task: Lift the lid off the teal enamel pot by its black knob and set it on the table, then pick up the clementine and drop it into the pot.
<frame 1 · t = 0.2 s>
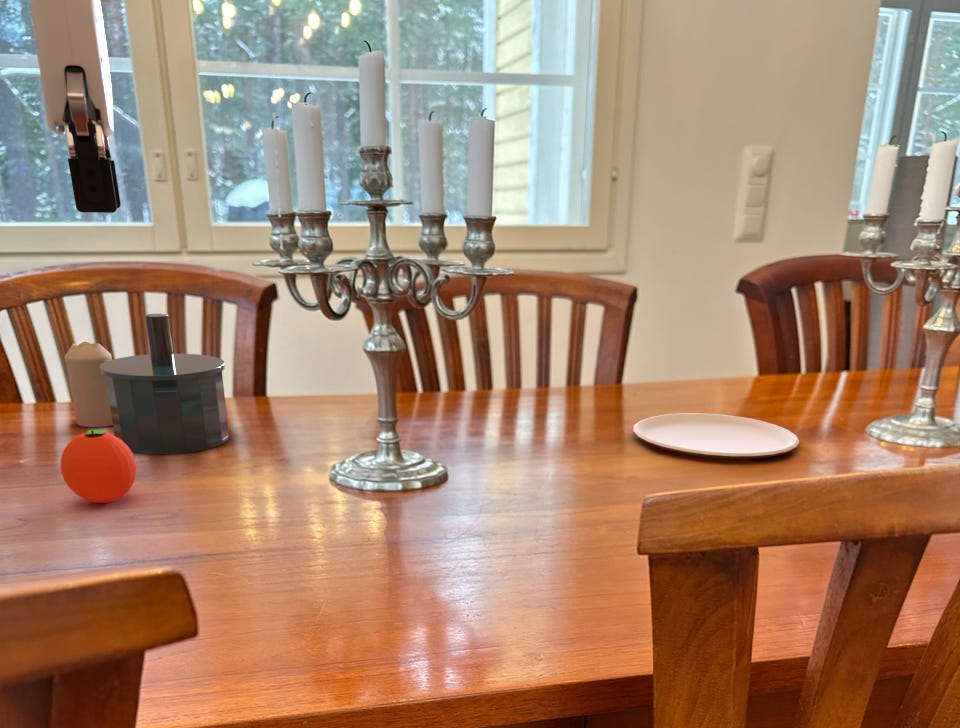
hand: (100, 210, 80), 26 cm above the table, tool pointing down, fingers open, 9 cm apart
clementine: (106, 501, 90), on the table
candle: (99, 424, 117), on the table
plate: (713, 442, 115), on the table
pot: (173, 439, 110), on the table
lid: (163, 369, 106), point 8 cm above the table, touching pot
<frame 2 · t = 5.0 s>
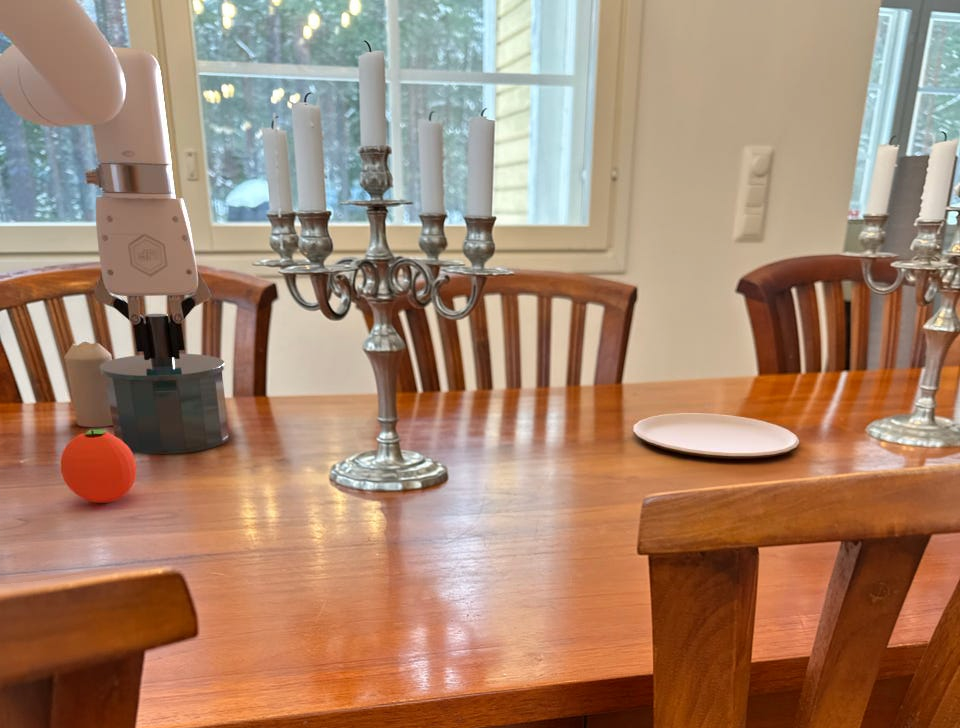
hand: (162, 356, 106), 10 cm above the table, tool pointing down, fingers closed on lid, 2 cm apart
lid: (163, 369, 106), point 9 cm above the table, touching gripper, pot
everything else where it was.
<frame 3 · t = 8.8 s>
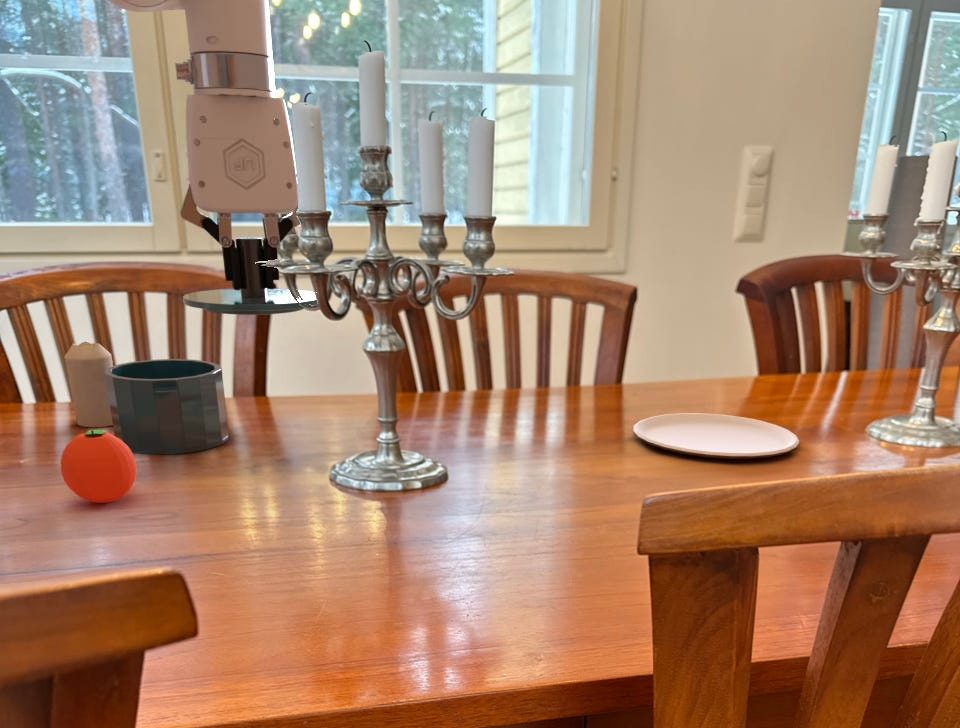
hand: (253, 286, 93), 19 cm above the table, tool pointing down, fingers closed on lid, 2 cm apart
lid: (254, 301, 93), point 18 cm above the table, touching gripper
everything else where it was.
when the fingers open (2 cm above the table, at t = 12.6 s): lid stays where it is, point 1 cm above the table.
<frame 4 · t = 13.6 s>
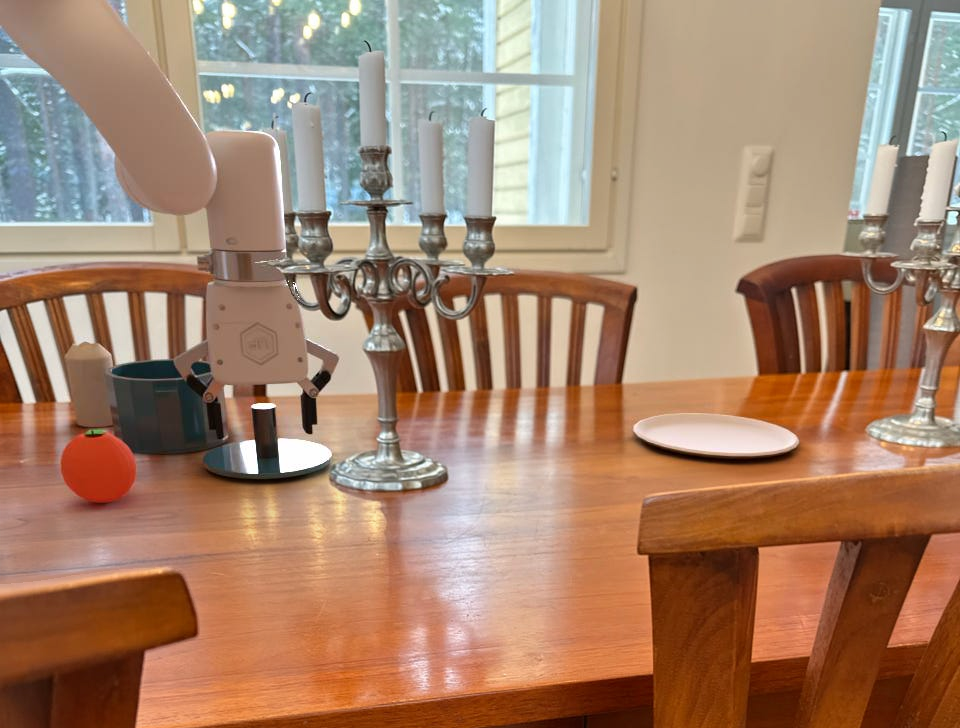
hand: (264, 433, 100), 4 cm above the table, tool pointing down, fingers open, 9 cm apart
lid: (268, 460, 101), point 1 cm above the table
everything else where it was.
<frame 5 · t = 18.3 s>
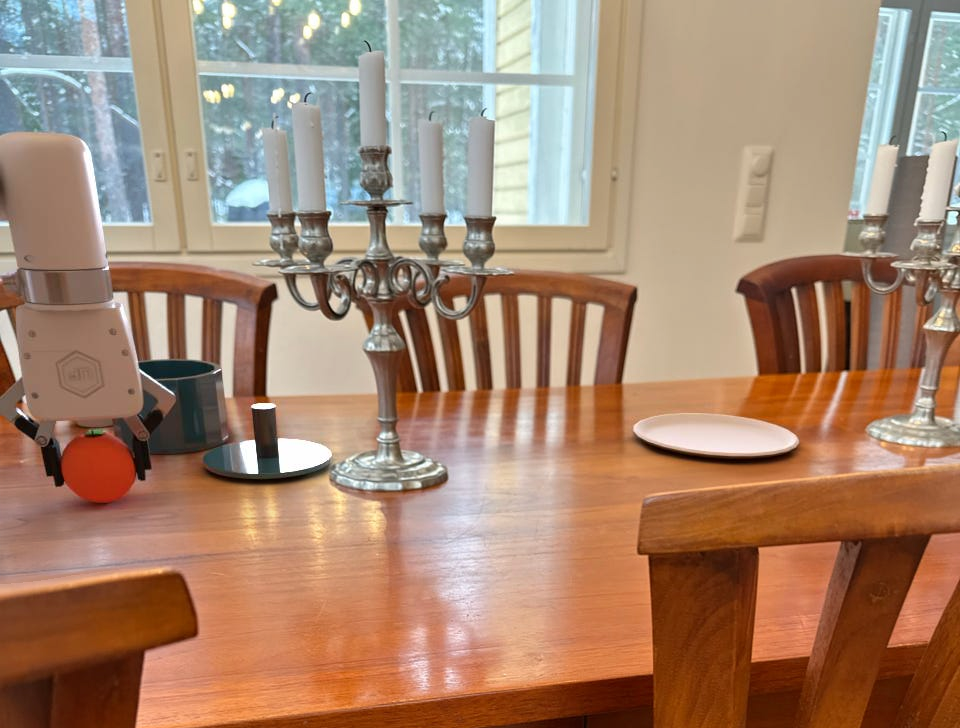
hand: (101, 478, 89), 2 cm above the table, tool pointing down, fingers closed on clementine, 7 cm apart
clementine: (106, 501, 90), on the table, touching gripper
everything else where it was.
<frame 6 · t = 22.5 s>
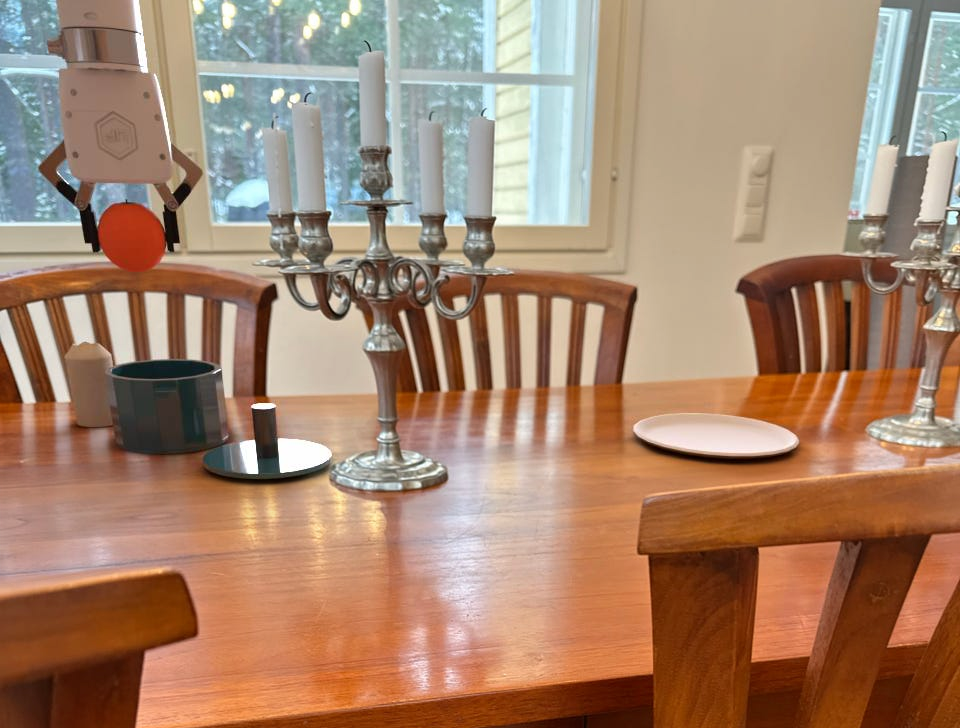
hand: (134, 249, 96), 22 cm above the table, tool pointing down, fingers closed on clementine, 7 cm apart
clementine: (138, 273, 98), point 19 cm above the table, touching gripper
everything else where it was.
when the fingers open (8 cm above the table, at t = 26.8 s): clementine drops 5 cm, resting on pot.
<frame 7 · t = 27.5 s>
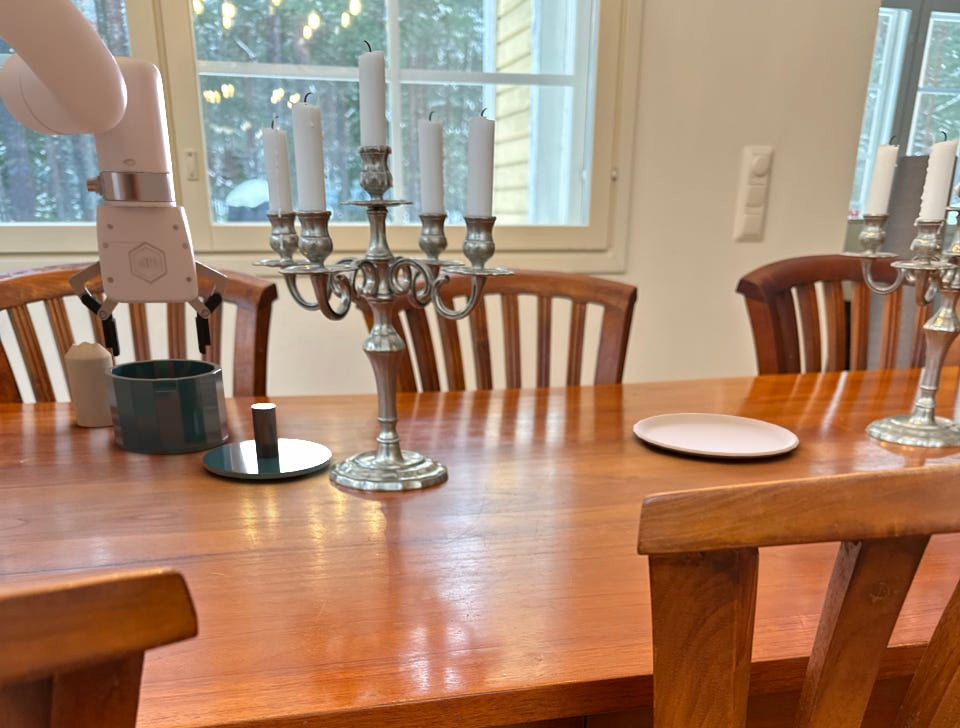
hand: (160, 353, 106), 10 cm above the table, tool pointing down, fingers open, 9 cm apart
clementine: (170, 437, 110), resting on pot
everything else where it was.
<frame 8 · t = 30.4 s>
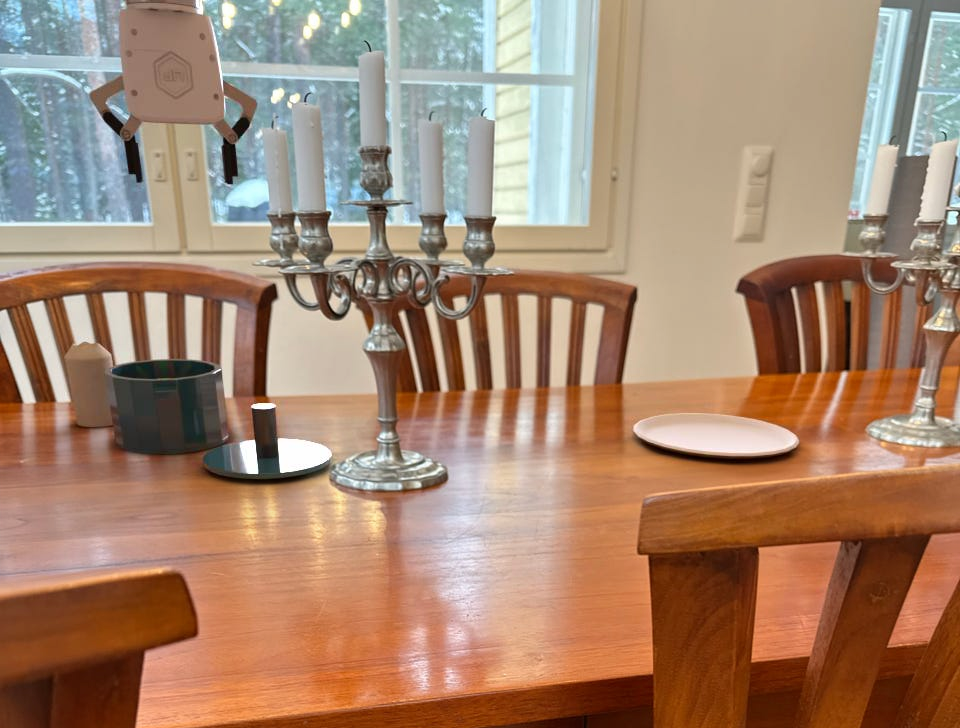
hand: (185, 183, 100), 28 cm above the table, tool pointing down, fingers open, 9 cm apart
nothing on the table moved.
at the end: lid inside the target area (0.0 cm from its centre), point 0.6 cm above the table; clementine inside the target area in the pot (0.3 cm from its centre), point 0.3 cm above the pot's base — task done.
